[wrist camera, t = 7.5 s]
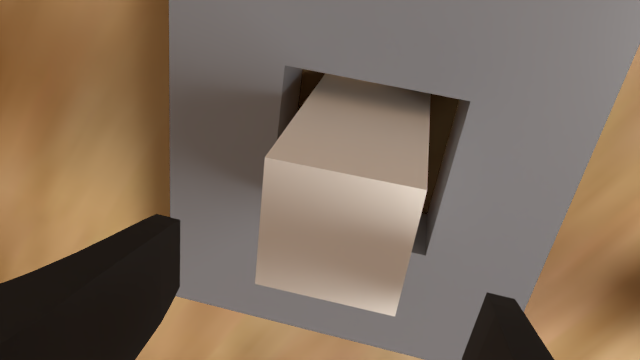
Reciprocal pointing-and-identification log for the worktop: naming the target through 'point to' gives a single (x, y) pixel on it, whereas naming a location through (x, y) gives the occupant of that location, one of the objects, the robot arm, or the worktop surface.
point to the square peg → (346, 194)
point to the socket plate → (457, 164)
